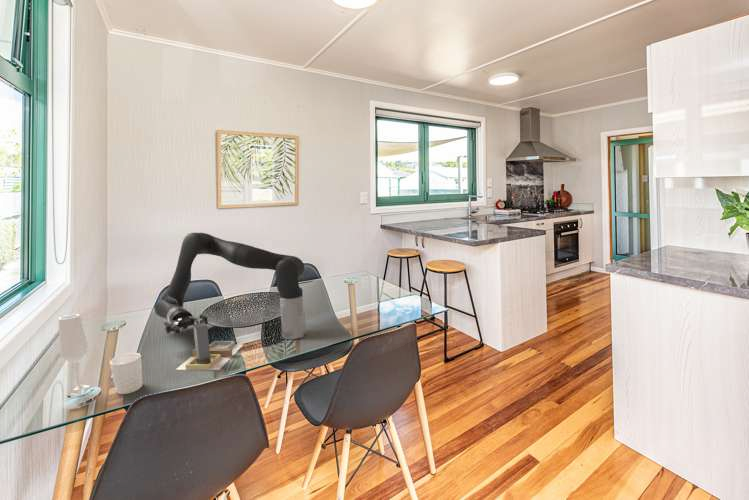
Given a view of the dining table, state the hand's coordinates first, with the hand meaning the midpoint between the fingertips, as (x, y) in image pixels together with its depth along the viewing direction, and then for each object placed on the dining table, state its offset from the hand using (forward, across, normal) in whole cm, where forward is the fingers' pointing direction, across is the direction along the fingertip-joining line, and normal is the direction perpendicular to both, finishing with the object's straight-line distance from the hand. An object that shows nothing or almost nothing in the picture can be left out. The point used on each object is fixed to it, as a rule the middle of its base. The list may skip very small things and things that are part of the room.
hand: (191, 328), depth 131 cm
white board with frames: (+7, +4, +11) cm, 13 cm away
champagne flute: (+1, -33, +11) cm, 35 cm away
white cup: (+10, -22, +11) cm, 26 cm away
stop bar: (+11, 0, +10) cm, 15 cm away
